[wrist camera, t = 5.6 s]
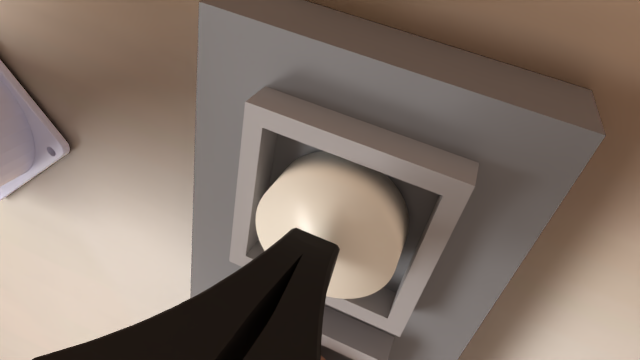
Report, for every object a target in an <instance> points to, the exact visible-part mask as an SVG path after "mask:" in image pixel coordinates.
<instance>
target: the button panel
mask: <svg viewBox="0 0 640 360" xmlns="http://www.w3.org/2000/svg"><path fill="white" fill-rule="evenodd" d="M605 136H606V135H605V131H604V128H603V125H602V122H601V118H600V115H599V112H598V109H597V106H596V102H595V99H594V96H593V93H592V90H589V89H586V88H583V87H580V86H576V85H573V84H570V83H567V82H564V81H560V80H557V79H554V78H551V77H548V76H544V75H541V74H538V73H535V72H532V71H529V70H525V69H522V68H519V67H516V66H513V65H509V64H506V63H503V62H500V61H497V60H493V59H490V58H487V57H484V56H481V55H477V54H474V53H471V52H468V51H465V50H461V49H458V48H455V47H452V46H449V45H445V44H442V43H439V42H436V41H433V40H430V39H426V38H423V37H420V36H417V35H414V34H410V33H407V32H404V31H401V30H398V29H394V28H391V27H388V26H385V25H382V24H378V23H375V22H372V21H369V20H366V19H362V18H359V17H356V16H353V15H350V14H346V13H343V12H340V11H337V10H334V9H331V8H327V7H324V6H321V5H318V4H315V3H311V2H308V1H305V0H202V1H199V21H198V56H197V90H196V125H195V160H194V194H193V229H192V263H191V298H192V297H194V296H196V295H198V294H200V293H201V292H203V291H205V290H207V289H208V288H210V287H212V286H213V285H215V284H217V283H218V282H220V281H221V280H223V279H225V278H226V277H228V276H229V275H231V274H233V273H234V272H236V271H237V270H239V269H240V268H242V267H243V266H245V265H246V264H247V263H249V262H250V261H252V260H253V259H254V258H256V257H257V256H259V255H260V254H261V253H263V252H264V249H263V247H262V245H261V243H260V241H259V238H258V235H257V231H256V223H255V219H256V211H257V207H258V204H259V202H260V200H261V198H262V197H263V195H264V194H265V193H266V192H267V190H268V189H269V188H270V187H271V186H272V185H273V183H274V182H275V181H276V180H277V179H278V178H279V176H280V175H281V174H282V173H283V172H284V171H285V169H286V168H287V167H288V166H289V165H290V164H291V163H293V162H294V161H295V160H296V159H298V158H300V157H302V156H304V155H307V154H310V153H315V152H322V151H325V152H328V153H331V154H333V155H336V156H339V157H341V158H344V159H347V160H349V161H352V162H355V163H357V164H360V165H363V166H365V167H368V168H370V169H373V170H376V171H378V172H381V173H384V174H385V175H386V176H387V177H388V178H389V179H390V180H391V181H392V182H393V183H394V184H395V186H396V187H397V189H398V190H399V192H400V193H401V195H402V197H403V199H404V201H405V204H406V207H407V210H408V216H409V229H408V234H407V237H406V241H405V243H404V246H403V249H402V252H401V255H400V258H399V261H398V264H397V267H396V269H395V272H394V274H393V276H392V278H391V279H390V281H389V282H388V283H387V284H386V285H385V286H384V287H383V288H382V289H380V290H379V291H377V292H375V293H373V294H371V295H368V296H365V297H361V298H354V299H340V298H332V297H327V296H326V300H325V307H324V315H323V325H322V340H321V356H322V357H323V358H325V359H326V360H458V358H459V357H460V355H461V354H462V352H463V351H464V349H465V348H466V346H467V345H468V343H469V342H470V340H471V339H472V337H473V335H474V334H475V332H476V331H477V329H478V328H479V326H480V325H481V323H482V322H483V320H484V319H485V317H486V316H487V314H488V313H489V311H490V310H491V308H492V307H493V305H494V304H495V302H496V301H497V299H498V298H499V296H500V295H501V293H502V292H503V290H504V289H505V287H506V286H507V284H508V283H509V281H510V280H511V278H512V277H513V275H514V273H515V272H516V270H517V269H518V267H519V266H520V264H521V263H522V261H523V260H524V258H525V257H526V255H527V254H528V252H529V251H530V249H531V248H532V246H533V245H534V243H535V242H536V240H537V239H538V237H539V236H540V234H541V233H542V231H543V230H544V228H545V227H546V225H547V224H548V222H549V221H550V219H551V218H552V216H553V214H554V213H555V211H556V210H557V208H558V207H559V205H560V204H561V202H562V201H563V199H564V198H565V196H566V195H567V193H568V192H569V190H570V189H571V187H572V186H573V184H574V183H575V181H576V180H577V178H578V177H579V175H580V174H581V172H582V171H583V169H584V168H585V166H586V165H587V163H588V162H589V160H590V159H591V157H592V156H593V154H594V152H595V151H596V149H597V148H598V146H599V145H600V143H601V142H602V140H603V139H604V137H605Z"/></svg>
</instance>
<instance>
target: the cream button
mask: <svg viewBox="0 0 640 360" xmlns="http://www.w3.org/2000/svg"><path fill="white" fill-rule="evenodd" d="M255 223H256V231H257V235H258V238H259V241H260V243H261V245H262V247H263V249H264V251H265V250H267V249H268V248H269V247H271V246H272V245H273V244H274V243H276V242H277V241H278V240H279V239H281V238H282V237H283V236H284V235H285V234H286V233H288V232H289V231H290V230H291V229H293V228H298V229H301V230H303V231H305V232H308V233H310V234H313V235H315V236H317V237H320V238H322V239H325V240H327V241H330V242H332V243H334V244H337V245H338V247H339V249H340V251H339V254H338V257H337V261H336V264H335V267H334V270H333V274H332V277H331V280H330V283H329V287H328V290H327V293H326V296H327V297H332V298H340V299H354V298H361V297H365V296H368V295H371V294H373V293H375V292H377V291H379V290H380V289H382V288H383V287H384V286H385V285H386V284H387V283H388V282H389V281H390V279H391V278H392V276H393V274H394V272H395V269H396V267H397V264H398V261H399V258H400V255H401V252H402V249H403V246H404V243H405V241H406V237H407V234H408V229H409V216H408V210H407V207H406V204H405V201H404V199H403V197H402V195H401V193H400V192H399V190H398V189H397V187H396V186H395V184H394V183H393V182H392V181H391V180H390V179H389V178H388V177H387V176H386V175H385V174H384V173H381V172H378V171H376V170H373V169H370V168H368V167H365V166H363V165H360V164H357V163H355V162H352V161H349V160H347V159H344V158H341V157H339V156H336V155H333V154H331V153H328V152H325V151H322V152H315V153H310V154H307V155H304V156H302V157H300V158H298V159H296V160H295V161H294V162H293V163H291V164H290V165H289V166H288V167H287V168H286V169H285V171H284V172H283V173H282V174H281V175H280V176H279V178H278V179H277V180H276V181H275V182H274V183H273V185H272V186H271V187H270V188H269V189H268V190H267V192H266V193H265V194H264V195H263V197H262V198H261V200H260V202H259V204H258V207H257V211H256V219H255Z"/></svg>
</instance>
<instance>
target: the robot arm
mask: <svg viewBox="0 0 640 360" xmlns="http://www.w3.org/2000/svg"><path fill="white" fill-rule="evenodd" d="M69 151H70V147H69V144H68V143H67V141H66V140H65V139H64V137H63V136H62V135H61V134H60V133H59V131H58V130H57V129H56V128H55V126H54V125H53V124H52V123H51V121H50V120H49V119H48V118H47V116H46V115H45V114H44V113H43V112H42V110H41V109H40V108H39V107H38V105H37V104H36V103H35V102H34V100H33V99H32V98H31V97H30V96H29V94H28V93H27V92H26V91H25V89H24V88H23V87H22V86H21V84H20V83H19V82H18V81H17V79H16V78H15V77H14V76H13V75H12V73H11V72H10V71H9V70H8V68H7V67H6V66H5V65H4V63H3V62H2V61H1V60H0V201H1V200H3V199H4V198H5V197H7V196H8V195H10V194H11V193H12V192H14V191H15V190H17V189H18V188H20V187H21V186H22V185H24V184H25V183H27V182H28V181H30V180H31V179H32V178H34V177H35V176H37V175H38V174H39V173H41V172H42V171H44V170H45V169H47V168H48V167H49V166H51V165H52V164H54V163H55V162H57V161H58V160H59V159H61V158H62V157H64V156H65V155H67V154H68V153H69ZM339 251H340V249H339V247H338V245H337V244H334V243H332V242H330V241H327V240H325V239H322V238H320V237H317V236H315V235H313V234H310V233H308V232H305V231H303V230H301V229H298V228H293V229H291V230H290V231H289V232H288V233H286V234H285V235H284V236H283V237H282V238H281V239H279V240H278V241H277V242H276V243H274V244H273V245H272V246H271V247H269V248H268V249H267V250H265V251H264V252H263V253H261V254H260V255H259V256H257V257H256V258H254V259H253V260H252V261H250V262H249V263H247V264H246V265H245V266H243V267H242V268H240V269H239V270H237V271H236V272H234V273H233V274H231V275H229V276H228V277H226V278H225V279H223V280H221V281H220V282H218V283H217V284H215V285H213V286H212V287H210V288H208V289H207V290H205V291H203V292H201V293H200V294H198V295H196V296H194V297H192V298H190V299H188V300H187V301H185V302H183V303H181V304H179V305H177V306H175V307H173V308H171V309H168V310H166V311H164V312H162V313H160V314H158V315H155V316H153V317H151V318H149V319H147V320H144V321H142V322H140V323H137V324H135V325H132V326H130V327H127V328H124V329H122V330H119V331H116V332H114V333H111V334H108V335H106V336H103V337H100V338H98V339H95V340H92V341H89V342H86V343H83V344H79V345H76V346H73V347H69V348H66V349H63V350H60V351H56V352H53V353H50V354H46V355H43V356H39V357H36V358H34V359H32V360H321V340H322V325H323V315H324V307H325V300H326V293H327V290H328V287H329V283H330V280H331V277H332V274H333V270H334V267H335V264H336V261H337V257H338V254H339Z"/></svg>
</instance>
